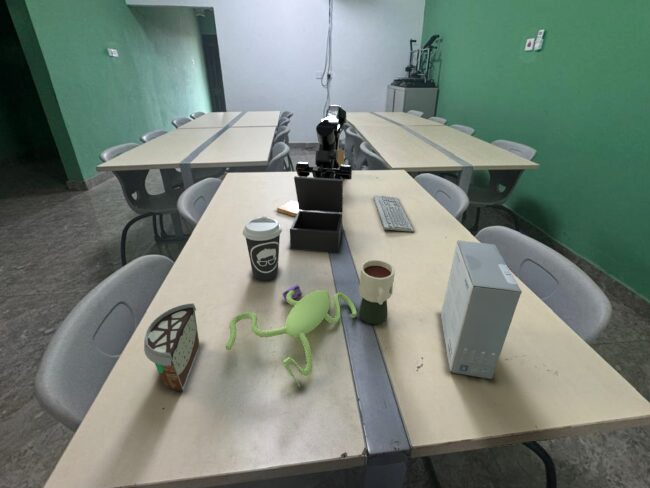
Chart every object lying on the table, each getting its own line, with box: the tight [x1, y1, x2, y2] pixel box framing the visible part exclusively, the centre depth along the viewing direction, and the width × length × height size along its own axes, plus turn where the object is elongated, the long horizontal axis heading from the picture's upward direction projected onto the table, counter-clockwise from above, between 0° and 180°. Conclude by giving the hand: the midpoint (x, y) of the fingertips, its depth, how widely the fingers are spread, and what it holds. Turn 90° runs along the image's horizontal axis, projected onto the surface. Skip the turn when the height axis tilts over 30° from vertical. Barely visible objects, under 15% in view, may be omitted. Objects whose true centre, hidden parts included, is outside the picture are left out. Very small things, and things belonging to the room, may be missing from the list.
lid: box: [293, 175, 344, 214], centre depth 99 cm, size 15×15×1 cm
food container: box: [143, 303, 201, 392], centre depth 56 cm, size 12×6×10 cm, turn 5°
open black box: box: [289, 210, 344, 254], centre depth 100 cm, size 14×15×7 cm
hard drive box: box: [440, 240, 523, 380], centre depth 61 cm, size 16×8×20 cm, turn 170°
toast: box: [276, 199, 308, 218], centre depth 121 cm, size 9×9×2 cm
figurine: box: [225, 283, 358, 388], centre depth 66 cm, size 18×27×6 cm
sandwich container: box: [337, 149, 346, 167], centre depth 160 cm, size 9×15×15 cm, turn 172°
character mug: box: [358, 259, 396, 325], centre depth 68 cm, size 11×7×13 cm, turn 4°
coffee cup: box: [242, 216, 283, 282], centre depth 81 cm, size 10×10×15 cm
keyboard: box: [373, 194, 415, 233], centre depth 121 cm, size 29×10×2 cm, turn 1°
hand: (321, 193), depth 104 cm, fingers closed
